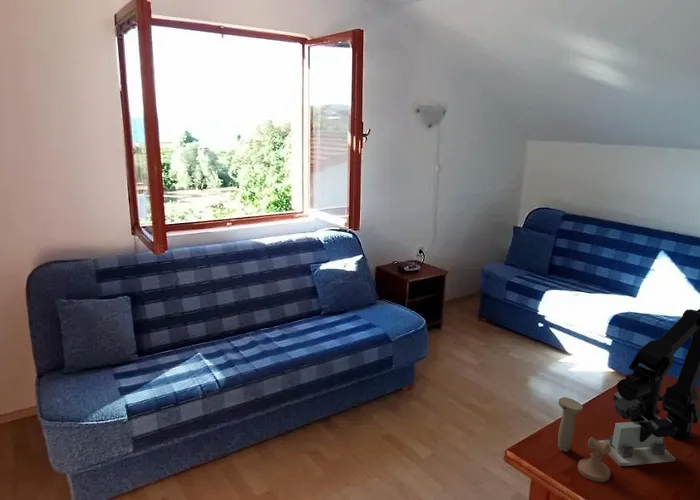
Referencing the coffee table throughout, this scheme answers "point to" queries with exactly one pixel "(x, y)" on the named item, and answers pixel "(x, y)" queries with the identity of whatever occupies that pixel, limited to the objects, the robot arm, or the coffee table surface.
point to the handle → (567, 422)
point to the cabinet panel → (639, 454)
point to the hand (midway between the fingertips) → (638, 438)
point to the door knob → (595, 462)
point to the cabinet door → (632, 436)
